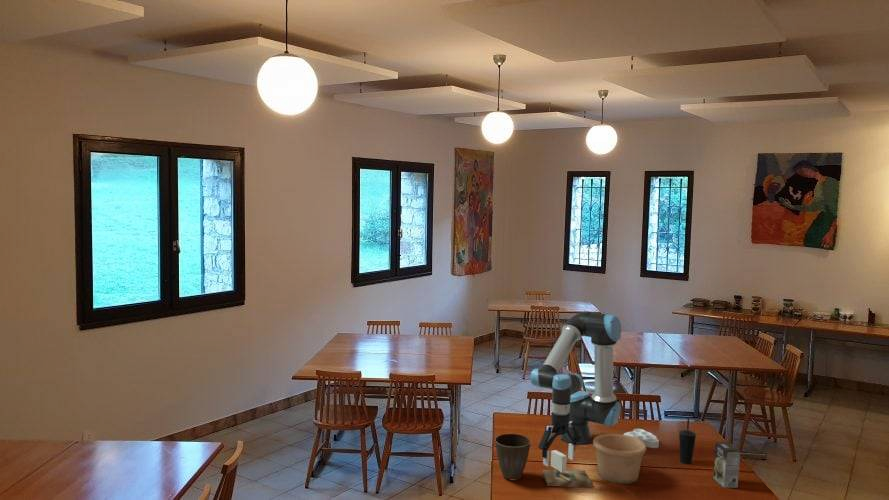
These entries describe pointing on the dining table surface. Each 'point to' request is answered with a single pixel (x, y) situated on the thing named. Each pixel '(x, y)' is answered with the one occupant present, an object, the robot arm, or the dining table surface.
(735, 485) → the coffee box
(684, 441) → the drinking cup
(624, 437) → the pottery
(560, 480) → the brown flat rectangular block
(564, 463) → the white slab
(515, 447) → the plant pot
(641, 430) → the knuckle duster
